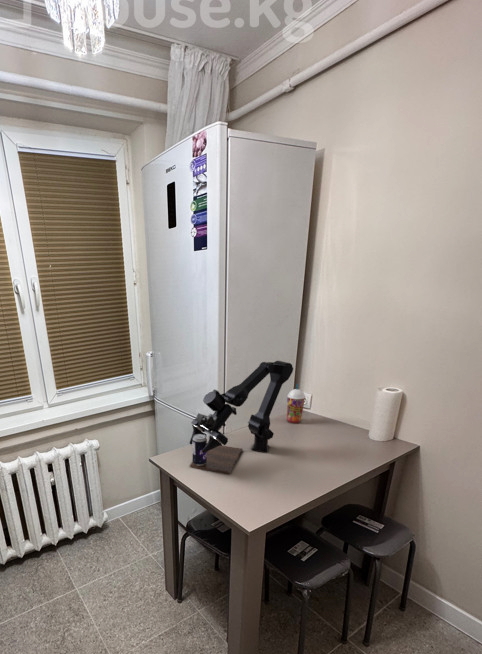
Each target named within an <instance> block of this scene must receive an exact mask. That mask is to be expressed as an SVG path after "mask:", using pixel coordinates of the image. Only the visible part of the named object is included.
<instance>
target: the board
mask: <svg viewBox="0 0 482 654" xmlns="http://www.w3.org/2000/svg"><path fill="white" fill-rule="evenodd" d="M242 451H243V448H239V447H234V446H228V445H222V446H218V447H216V448H213V449H211V450H209V451H207V462H206V463H205V464H204V465H202V466H198V465H195V464H194V463H193V461H191V463H190V464H189V467H190V468H194V469H199V470H205V471H211V472H216V473H219V474H220V473H221V474H226V475H230V474H231V472H232V470H233V468H234V466H235V464H236V463H237V460H238V459H239V458H240V456H241V454H242Z"/></svg>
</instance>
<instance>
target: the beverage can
mask: <svg viewBox="0 0 482 654" xmlns="http://www.w3.org/2000/svg"><path fill="white" fill-rule="evenodd" d="M207 443H208V438H207V436H206V434H196V435H194V436H193V439H192V450H191V451H192V462H193V463H194V464H195V465H198V466H202V465H204V464H205V463H206V462H207V452H205V453H202V450H203V448H204V447H205V445H206V444H207Z"/></svg>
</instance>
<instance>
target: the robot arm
mask: <svg viewBox="0 0 482 654" xmlns="http://www.w3.org/2000/svg"><path fill="white" fill-rule="evenodd" d="M293 372H294V367H293V364H292V363H290V362H287V361H283V360H275V361H274V362H273V361H262V362H260V363H259V365H258V367H256V368H255V369H254V370H253V371H252V372H251V373H250V374H249V375H248V376H247V377H246V378H245V379H244V380H243V381H242V382H240V383H239V384H237V385H235V386H232V387H231V388H229V389H228V390H227V391H225V392H224V393H220V391H218V390H217V389H213V390H212V391H210V392H207V394H205V395H204V397H203V400H202V401H203V404H205V405H206V406H207V407H208V408H209V409H210V410H211V411H212V412H213V413H209V414H208V415H206V414H202V413H197V415H196V418H194V419H193V420H192V421H191V426H192V434H191V437H190V440H189V444H190V445H192V439H193V436H194V435H196V434H203V435H205V433H208V434H209V436H208V440H207V444H206V445H205V447H204V448H203V450H202V453H205V452H207V451H209V450H211V449H213V448H216V447H218V446H227V444H228V442H229V438H228V437H227V436H226V435H225V434H224V433H223V432H221V431H220V430H221V428H222V427H224V428H225V427H226V425H227V424H226V422H227V420H229V418H230V417H231V415H234V416H237V408H238V407H242V406H243V405H244V404H245V402H246V401H247V399H248V398H249V394H250V393H251V392H252V391H253V390H254V389H255V388H256V387H257V386H258V385H259V384H260V383H261V382H262V381H263V380H264V379H265V378H266V377H267V376H268V375H269V377H270V380H269V383H268V386H267V388H266V390H265V394H264V396H263V398H262V400H261V404H260V405H259V409H258V410H257V412H256V413H255V414H250V417H249V420H248V422H247V427H248V430H249V431H250V434H252V435H253V436H254V439H253V444H252V447H251V450H252V451H255V452H256V451H258V452H263V453H268V451H269V449H270V445H269V440H271V439H273V437H274V435H275V434H274V432H273V431H272V430H271V429H270V426H271V418H270V416H271V414H272V412H273V409H274V406H275V404H276V402H277V399H278V396H279V393H280V391H281V389H282V386H283V385H284V383H286V382H288V380H290V377H291V376H292V374H293ZM236 407H237V408H236Z"/></svg>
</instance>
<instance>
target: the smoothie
mask: <svg viewBox="0 0 482 654" xmlns="http://www.w3.org/2000/svg"><path fill="white" fill-rule="evenodd" d="M286 396H287V397H286V398H287V399H286V400H287V401H286V402H287V403H286V419H287V422H288V423H290V424H299V423H300V422H301V421H302V416H303V412H304V407H305V406H304V405H305V399H306V395H305V393H304V391H303V390H301V389H299V383H296V388H294V389H292V390H290V391H289V392H288V394H287V395H286Z"/></svg>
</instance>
